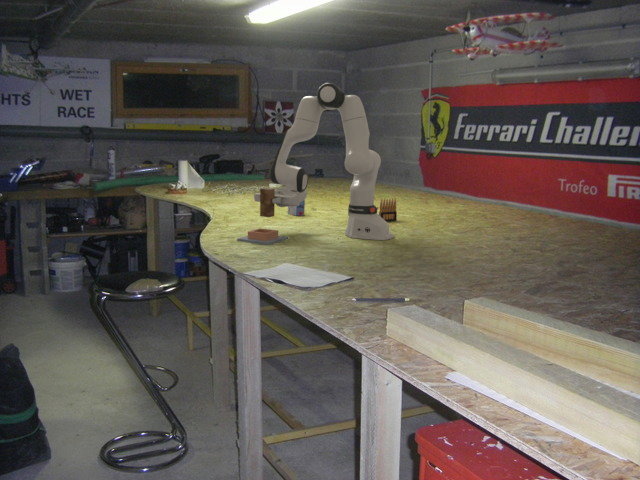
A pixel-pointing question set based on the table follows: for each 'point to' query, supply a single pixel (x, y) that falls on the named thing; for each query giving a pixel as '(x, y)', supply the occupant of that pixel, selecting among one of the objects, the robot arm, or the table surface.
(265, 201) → the wooden post
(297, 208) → the ink cartridge box
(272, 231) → the housing
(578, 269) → the table surface
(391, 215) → the ammunition clip
